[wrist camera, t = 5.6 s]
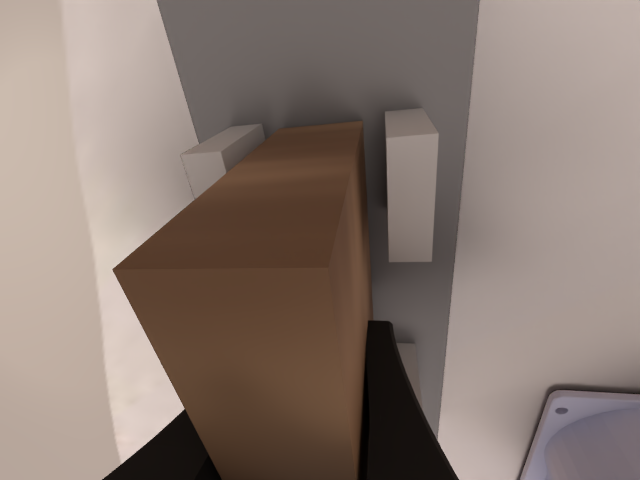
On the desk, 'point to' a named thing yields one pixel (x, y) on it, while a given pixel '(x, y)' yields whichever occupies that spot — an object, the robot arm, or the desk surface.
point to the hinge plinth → (349, 106)
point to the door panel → (269, 308)
